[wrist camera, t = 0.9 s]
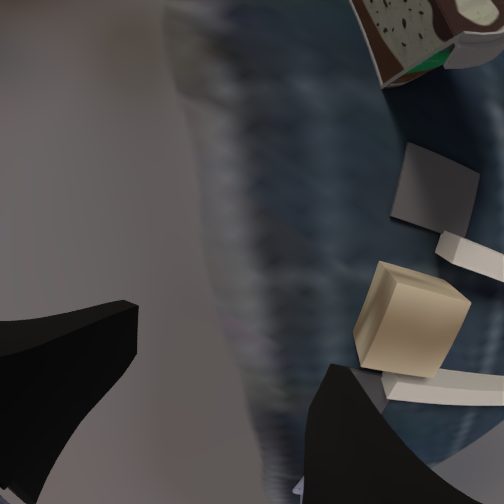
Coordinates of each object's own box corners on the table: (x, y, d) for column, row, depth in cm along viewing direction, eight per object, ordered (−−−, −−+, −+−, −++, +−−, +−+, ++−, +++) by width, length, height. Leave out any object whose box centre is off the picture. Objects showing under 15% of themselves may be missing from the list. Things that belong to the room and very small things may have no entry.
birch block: (415, 344, 17) (433, 378, 13) (352, 331, 18) (360, 366, 14) (443, 279, 16) (471, 302, 12) (378, 260, 16) (397, 282, 13)
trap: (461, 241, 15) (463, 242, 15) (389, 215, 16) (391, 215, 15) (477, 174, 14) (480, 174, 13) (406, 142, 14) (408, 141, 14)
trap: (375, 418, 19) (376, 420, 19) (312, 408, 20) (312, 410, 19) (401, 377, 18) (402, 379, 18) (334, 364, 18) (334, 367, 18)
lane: (513, 389, 16) (524, 404, 14) (380, 376, 18) (386, 398, 16) (565, 285, 13) (580, 294, 11) (442, 229, 15) (460, 237, 13)
